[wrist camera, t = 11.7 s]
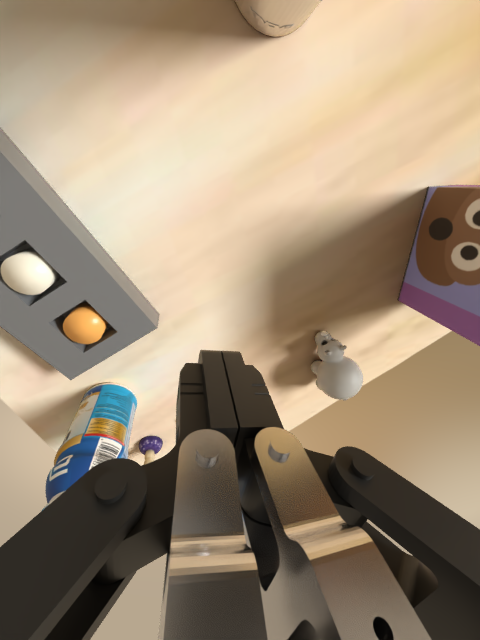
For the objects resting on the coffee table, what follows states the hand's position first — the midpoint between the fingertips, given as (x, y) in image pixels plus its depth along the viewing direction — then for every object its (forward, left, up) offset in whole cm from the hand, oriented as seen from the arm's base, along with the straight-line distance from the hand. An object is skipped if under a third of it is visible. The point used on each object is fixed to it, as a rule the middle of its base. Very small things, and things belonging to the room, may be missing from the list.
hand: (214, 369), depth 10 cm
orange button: (+12, -12, -26) cm, 31 cm away
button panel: (+6, -17, -27) cm, 32 cm away
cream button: (+6, -17, -26) cm, 32 cm away
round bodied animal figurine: (+17, +26, -27) cm, 41 cm away
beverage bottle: (+28, -10, -27) cm, 40 cm away
